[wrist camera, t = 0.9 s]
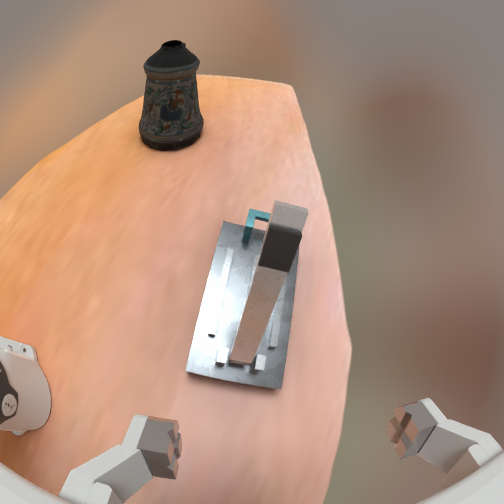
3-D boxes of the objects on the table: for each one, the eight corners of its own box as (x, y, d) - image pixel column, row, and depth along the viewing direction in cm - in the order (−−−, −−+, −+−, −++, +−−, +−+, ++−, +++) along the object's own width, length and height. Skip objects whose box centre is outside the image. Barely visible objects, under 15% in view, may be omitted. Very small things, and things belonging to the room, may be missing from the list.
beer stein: (146, 159, 58) (135, 63, 36) (134, 118, 65) (128, 39, 43) (211, 143, 63) (221, 51, 42) (189, 106, 70) (194, 29, 49)
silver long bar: (229, 356, 35) (227, 366, 34) (274, 199, 24) (275, 206, 22) (250, 361, 36) (249, 370, 34) (306, 208, 24) (309, 215, 23)
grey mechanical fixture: (187, 372, 39) (183, 368, 31) (222, 230, 52) (226, 202, 45) (274, 389, 40) (290, 388, 32) (293, 247, 53) (308, 222, 45)
